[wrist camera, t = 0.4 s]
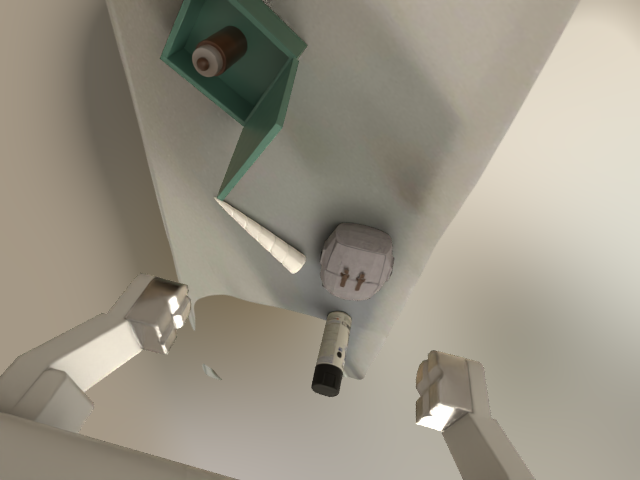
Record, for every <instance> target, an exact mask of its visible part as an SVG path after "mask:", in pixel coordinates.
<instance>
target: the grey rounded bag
mask: <svg viewBox="0 0 640 480" xmlns="http://www.w3.org/2000/svg"><path fill="white" fill-rule="evenodd" d="M320 263H321V264H322V267H321V272H320V276H321V279H322V282H323V287H324V288H326V289H327V290H328V291H329V292H330V293H331V294H333V295H335V296H338V297H340V298H342V299H346V300H355V301H359V300H366V299H370V298H371V296H372V295H374V294H375V293H376V292H378V291H379V290H380V289H381V287H382V286H383V284H384V283H385V282H386V281H388V280H389V278H390V276H391V273H392V269H393V263H394V257H393V256H392V240H391V237H390V236H389V235H388V234H386V233H384V232H382V231H380V230H378V229H375V228H372V227H369V226H366V225H360V224H354V223H341V224H340V225H338V226H337V228H336V229H335V230H334V231H333V233H332V234H331V235H330V237H329V238H328V240H326V241H325V243H324V247H323V251H321V256H320Z"/></svg>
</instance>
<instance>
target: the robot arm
mask: <svg viewBox="0 0 640 480" xmlns="http://www.w3.org/2000/svg"><path fill="white" fill-rule="evenodd" d="M188 291H189V290H188V286H187V285H185V284H181V283H178V282H174V281H170V280H166V279H163V278H159V277H156V276H152V275H148V274H143V273H140V274H139V275H137V276H136V277H135V278H134V280H133V281H132V282H131V283H130V285H129V286H128V287H127V289H126V290H125V291H124V292H123V294H122V295H121V296H120V297H119V299H118V300H117V301H116V303H115V304H114V305H113V306H112V308H111V309H110V310H109V312H108V313H107V314H104V313H101V314H99V315H97V316H96V317H94V318H92V319H90V320H88V321H86V322H84V323H82V324H80V325H78V326H76V327H75V328H72V329H70V330H69V331H67V332H65V333H63V334H61V335H59V336H57V337H55V338H53V339H51V340H49V341H47V342H46V343H44V344H42V345H40V346H38V347H36V348H34V349H32V350H30V351H28V352H26V353H24V354H22V355H20V356H18V357H17V358H16V359H15V361H14V362H13V363H12V364H11V365H10V366H9V367H8V368H7V369H6V371H5V372H4V373H3V374H2V375H1V376H0V480H238V479H234V478H231V477H227V476H224V475H220V474H217V473H213V472H210V471H206V470H203V469H199V468H196V467H192V466H189V465H185V464H182V463H179V462H175V461H171V460H168V459H165V458H161V457H158V456H154V455H151V454H147V453H144V452H140V451H137V450H133V449H130V448H126V447H123V446H119V445H116V444H112V443H109V442H105V441H102V440H98V439H95V438H91V437H88V436H84V435H81V434H78V432H79V430H80V429H81V427H82V426H83V424H84V423H85V421H86V420H87V418H88V416H89V415H90V413H91V412H92V410H93V409H94V404H93V402H92V401H91V400H90V398H89V397H88V396H87V395H86V394H85V393H84V392H85V391H86V390H88V389H89V388H91V387H92V386H93V385H94V384H96V383H97V382H99V381H100V380H101V379H103V378H104V377H106V376H107V375H109V374H110V373H111V372H113V371H114V370H115V369H117V368H118V367H119V366H121V365H122V364H124V363H125V362H126V361H128V360H129V359H131V358H132V357H133V356H135V355H136V354H138V353H139V352H140V351H141V349H144V350H148V351H152V352H156V353H160V354H164V355H167V354H168V352H169V350H170V348H171V346H172V345H173V343H174V341H175V340H176V338H177V334H176V330H177V329H178V328H180V327H182V326H183V325H184V324H185V322H186V320H187V318H188V316H189V313H190V310H191V299H190V298H189V297H188V296H187V293H188ZM416 389H417V390H418V392H419V394H420V398H419V399H418V400H417V401H416V424H419V425H423V426H426V427H429V428H433V429H436V430H439V431H443V432H442V435H443V437H444V439H445V441H446V443H447V446H448V448H449V450H450V452H451V454H452V456H453V459H454V461H455V463H456V465H457V467H458V469H459V471H460V474H461V476H462V478H463V480H535V479H534V476H533V475H532V474H531V472H530V470H529V469H528V467H527V466H526V464H525V463H524V461H523V460H522V459H521V457H520V455H519V454H518V452H517V451H516V449H515V448H514V446H513V445H512V443H511V442H510V440H509V439H508V437H507V435H506V434H505V433H504V431H503V430H502V428H501V426H500V425H499V423H498V422H497V420H495V419H492V418H491V412H490V406H489V399H488V392H487V386H486V379H485V372H484V367H483V365H482V364H481V363H480V362H477V361H474V360H470V359H466V358H463V357H459V356H455V355H451V354H447V353H443V352H439V351H434V350H433V351H431V352H430V353H429V354H428V360H424V361H422V363H421V364H420V366H419V368H418V371H417V377H416Z"/></svg>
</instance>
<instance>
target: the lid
mask: <svg viewBox="0 0 640 480" xmlns="http://www.w3.org/2000/svg"><path fill="white" fill-rule="evenodd" d="M298 63H299V61H298V60H297V59H296V58H295V57H294V58H293V59H292V60H291V62H290V63H289V65H288V66H287V67H286V69H285V70H284V72H283V73H282V74H281V76H280V77H279V79H278V80H277V81H276V83H275V84H274V86H273V87H272V88H271V90H270V91H269V93H268V94H267V95H266V97H265V98H264V100H263V101H262V102H261V104H260V105H259V107H258V108H257V110H256V111H255V112H254V114H253V115H252V117H251V118H250V119H249V121H248V122H247V124H246V125H245V126H244V128H243V130H242V132H241V135H240V138H239V140H238V143H237V145H236V148H235V151H234V153H233V156H232V159H231V161H230V164H229V167H228V169H227V172H226V174H225V177H224V180H223V182H222V185H221V188H220V190H219V193H218V196H217V199H219V200H221V201H223V200H224V199H225V197H226V196H227V195H228V194H229V192H230V191H231V190H232V189H233V188H234V186H235V185H236V184H237V183H238V181H239V180H240V179H241V178H242V177H243V175H244V174H245V173H246V172H247V170H248V169H249V168H250V167H251V166H252V164H253V163H254V162H255V161H256V159H257V158H258V157H259V156H260V155H261V153H262V152H263V151H264V150H265V148H266V147H267V146H268V145H269V144H270V142H271V141H272V140H273V139H274V137H275V136H276V135H277V134H278V133H279V131H280V130H281V129H282V127H283V123H284V119H285V115H286V111H287V107H288V103H289V99H290V95H291V91H292V87H293V83H294V79H295V75H296V71H297V67H298Z"/></svg>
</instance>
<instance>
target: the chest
mask: <svg viewBox="0 0 640 480" xmlns="http://www.w3.org/2000/svg"><path fill="white" fill-rule="evenodd" d="M226 26H234V27H236V28H238V29H239V30H241V31H242V33H243V34H244V35H245V37H246V40H247V51H246V54H245V55H244V56H243V57H242V58H241V59H239V60H238V61H237V62H236V63H235V64H233V65H232V66H231V67H230V68H229V69H227V70H226V71H225V72H224V73H222V74H221V75H219V76H213V77H205V76H203V75H201V74H200V73H199V72H198V71H197V70H196V69H195V67H194V65H193V62H192V54H193V52H194V51H195V49H196V46H197V45H198V43H200V42H201V41H203V40H204V39H206V38H208V37H209V36H211V35H213V34H214V33H216V32H218V31H219V30H221V29H223V28H224V27H226ZM306 47H307V44H306V43H305V42H304V41H302V40H301V39H300V38H299V37H298V36H297V35H296V34H295V33H294V32H293V31H292V30H291V29H290V28H289V27H288V26H287V25H286V24H285V23H284V22H283V21H282V20H281V19H280V18H279V17H278V16H277V15H276V14H275V13H274V12H273V11H272V10H271V9H270V8H269V7H268V6H267V5H266V4H265V3H264V2H263V1H262V0H184V1H183V3H182V6H181V8H180V11H179V13H178V15H177V18H176V20H175V23H174V25H173V28H172V30H171V33H170V35H169V38H168V40H167V42H166V45H165V47H164V50H163V52H162V55H161V57H160V59H161V60H162V61H163V62H165V63H166V64H167V65H168V66H170V67H171V68H172V69H173V70H175V71H176V72H177V73H178V74H180V75H181V76H182V77H183V78H184V79H186V80H187V81H188V82H189V83H191V84H192V85H193V86H194V87H196V88H197V89H198V90H199V91H200V92H202V93H203V94H204V95H205V96H207V97H208V98H209V99H210V100H212V101H213V102H214V103H215V104H216V105H218V106H219V107H220V108H221V109H223V110H224V111H225V112H226V113H228V114H229V115H230V116H231V117H232V118H234V119H235V120H236V121H237V122H239V123H240V124H241V125H242V126H245V125H246V124H247V122H248V121H249V119H250V118H251V117H252V115H253V114H254V112H255V111H256V110H257V108H258V107H259V105H260V104H261V102H262V101H263V100H264V98H265V97H266V95H267V94H268V93H269V91H270V90H271V88H272V87H273V86H274V84H275V83H276V81H277V80H278V79H279V77H280V76H281V74H282V73H283V72H284V70H285V69H286V67H287V66H288V65H289V63H290V62H291V60H292V59H293V58H294V57H295V58H296V59H298V58H299V57H300V55H301V54H302V53H303V51H304V50H305V48H306Z"/></svg>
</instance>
